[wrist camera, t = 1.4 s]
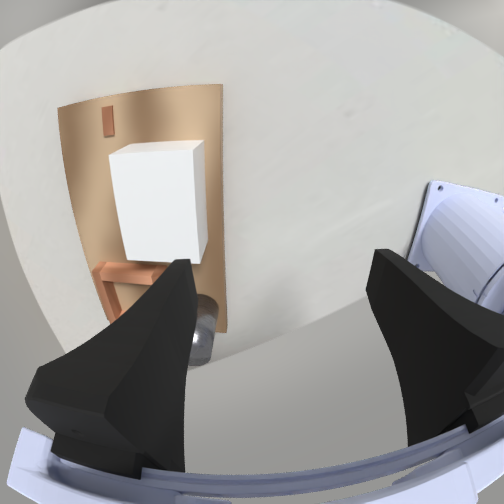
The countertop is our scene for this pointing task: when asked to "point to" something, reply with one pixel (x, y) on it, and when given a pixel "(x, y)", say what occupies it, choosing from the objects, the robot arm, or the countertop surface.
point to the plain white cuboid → (161, 200)
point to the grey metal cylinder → (204, 330)
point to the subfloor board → (102, 194)
